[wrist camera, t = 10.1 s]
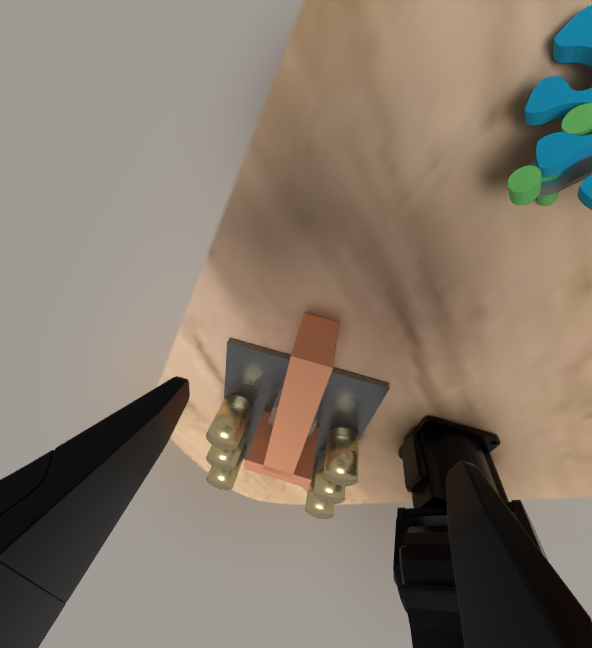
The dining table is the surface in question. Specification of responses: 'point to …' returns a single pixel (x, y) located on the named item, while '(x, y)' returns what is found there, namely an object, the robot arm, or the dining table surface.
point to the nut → (275, 407)
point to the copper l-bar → (296, 407)
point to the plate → (259, 395)
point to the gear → (576, 130)
